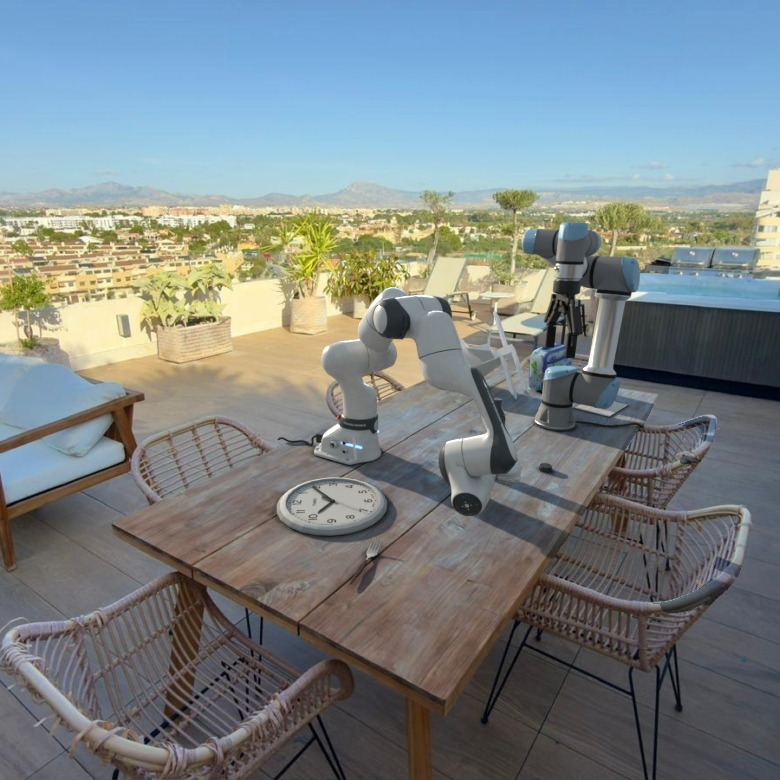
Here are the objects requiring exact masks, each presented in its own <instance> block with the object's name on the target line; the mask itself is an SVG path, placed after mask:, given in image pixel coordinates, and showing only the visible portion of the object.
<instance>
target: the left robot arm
mask: <svg viewBox="0 0 780 780" xmlns="http://www.w3.org/2000/svg"><path fill="white" fill-rule="evenodd" d="M357 337H358V339H350V340H342V341H337V342H334V343H331V344H328V345H326V346H325V347H324V348H323V350H322V352H321V357H320V363H321V366H322V368H323V370H324V372H325V373H326V374H327V375H328V376H330V377H331V378H333V379H334V380H335V381H336V383H337V384H338V386H339V388H340V391H341V396H342V397H341V398H342V410H341V412H340V413H339V414H338V415H337V416H336V417H335V421H337V423H336V424H334V425H333V426H331V427H330V428H329V429H324V428H323V429H321V430H319V431H317V432H316V433H315V434H314V435H313V436H312V437H311V438H310V439H311V443H310V442H308V441H307V440H304V439H297V440H290V439H288V438H286V437H283V436H279V437H278V438H277V441H280V440H283V441H285V442H287V443H291V444H295V443H296V444H297V443H304V444H306V445H308V446H311V447H312V446H314V443H318V444H317V445H316V446H315V448H314V451H313V454H314V456H316V457H320V458H324V459H327V460H331V461H334V462H338V463H340V464H341V463H342V464H344V465H349V466H351V465H356V464H361V463H368V462H372V461H375V460H378V458H380V457H381V456H382V450H381V448H380V442H379V441H380V440H379V435H378V434H379V433H380V430H379V413H378V393H377V390H376V389H375V388H374V387H373V386H372V385H370V384H369V383H366V382H364V380H363V375H364V374H370V373H376V372H377V373H378V372H382V371H384V370H387V369H389V368H391V367H393V366H394V365H395V364H396V361H397V358H398V350H397V347H396V345H395V343H394V340H404V339H411V340H413V341H414V342H415V346H416V351H417V358H418V363H419V367H420V371H421V374H422V376H423V379H424V380H425V381H426V383H428V385H430V386H431V387H434V388H435V389H438V390H442V391H445V392H446V391H447V392H454V393H460V394H464V395H466V396H468V397H470V399H471V400H472V401H474V403H475V406H476V408H477V410H478V413H479V415H480V417H481V420H482V423H483V426H485V432H486V430H487V432H486V433H485V432H484V433H483V434H479V435H473V436H468V437H461V438H456V439H451V440H447V441H445V443H443V445H442V447H441V449H440V451H439V454H438V469H439V472H440V475H441V477H442V479H443V480H444V482H445V483H446V484H447V486H449V488H450V489H451V491H450V492H451V493H450V494H451V497H450V501H451V505H452V509H454V510H455V512H456V513H458V514H460V515H462V516H464V517H475V516H478V515H480V514H481V513H483V512H484V510H485V509H486V507H487V506H488V504H489V501H490V499H491V495H492V491H493V489H494V487H495V484H496V483H501V484H507V485H508V484H509V485H514V484H516V483H520V482H521V475H522V474H521V473H522V466H523V465H522V464H521V462H519V461H518V451H517V447H516V445H515V442H514V441H513V439H512V437H511V435H510V433H509V431H508V429H507V427H506V424H505V425H504V422H503V420H502V418H501V415H500V413H499V410H498V408H497V406H496V403H495V401H494V398H495V397H494V396H493V394H492V391H491V388H490V387H489V385H488V383H487V380H486V379H485V377H483V375H482V373H481V372H480V371H479V369H477V368H474V367H471V366H470V365H469V363H468V362H467V361H466V359H465V357H464V355H463V351H462V347H461V343H460V339H461V338H460V336H459V334H458V330H457V328H456V325H455V323H454V320H453V311H452V307H451V304H450V303H449V301H448V300H447V299H446V298H444V297H442V296H439V295H408V294H407V293H406V292H405V291H404V290H402V289H400V288H398V287H388V288H385V289H383V290H382V291H381V292H380V293H379V294H378V295H377V296H376V297H375V298H374V300H373V301H372V302H371V303H370V305H369V307H367V310H366V312H365V313H364V315H363V316H362V318H361V320H360V321H359V324H358V326H357ZM314 439H315V442H314Z"/></svg>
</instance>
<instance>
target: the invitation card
mask: <svg viewBox="0 0 780 780" xmlns="http://www.w3.org/2000/svg"><path fill="white" fill-rule="evenodd" d="M628 406H629V404H627V403H623V402H618V401H614V402H613V404H612V405H611V406H610V407H609V408H607V409H601V408H594V407H591V406H586V405H581V404H578V405H575V406H574V407H573V409H575V410H581V411H584V412H587V413H593V414H596V415H600V416H604V417H608V418H609V417H611V416H613V415H614V414H616V413H617V412H619V411H621V410H623V409H624V408H626V407H628Z"/></svg>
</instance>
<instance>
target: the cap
mask: <svg viewBox="0 0 780 780" xmlns="http://www.w3.org/2000/svg"><path fill="white" fill-rule="evenodd" d="M538 470H539V471H540V472H542V473H546V474H547V473H551V472H552V470H553V465H552V464H551V463H548V462H540V464H539V467H538Z"/></svg>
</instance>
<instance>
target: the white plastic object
mask: <svg viewBox="0 0 780 780" xmlns="http://www.w3.org/2000/svg"><path fill="white" fill-rule="evenodd" d="M492 315H493V319H494V321H495V324H496V325H495V326H496V328H497V332H498V335H499V338H500V342H501V345H502V347H500V348H498V349H496V350H495V349H493V348H492V347H491V346H490V344H489V343H488V342H487V343H483V344H479V345H473V346H469V345H468V343H466V342H465V340H464V339H463V338H459V339H460V343H461V347H462V351H463V355H464V357H465V359H466V361H467V362H468V363H469V365H470V366H471V367H474V368H477V369H479V371H480V372H481V373H482V375H483V377H484V378H485V377H486V376H487V375H489V374H490V373H492V372H494V371H495V370H496V369H497V368H499V367H500V366H502V370H503V373H504V376H505V380H506V383H507V386H508V390H509V393H510V394H511V395H512V397H513V398H514V399H515V400H517V392H516V391H517V390H516V388H515V385H514V381H513V378H512V375H511V371H510V369H509V365H508V361H510V360H513V363H514V366H515V369H516V372H517V376H518V380H519V382H520V385H521V389H522V391H523V393H524V395H525V396H526V397H528V396H531V395H530V390H529V386H528V384H527V381H526V378H525V375H524V371H523V369H522V368H523V367H522V366H521V362H520V359H519V355H518V352H517V349H516V347H515V346H514V345H513V343H511V344H508V341H507V337H506V334H505V331H504V328H503V325H502V321H501V318H500V315H499V314H498V312H497V311H496V310H495V311H492Z"/></svg>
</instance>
